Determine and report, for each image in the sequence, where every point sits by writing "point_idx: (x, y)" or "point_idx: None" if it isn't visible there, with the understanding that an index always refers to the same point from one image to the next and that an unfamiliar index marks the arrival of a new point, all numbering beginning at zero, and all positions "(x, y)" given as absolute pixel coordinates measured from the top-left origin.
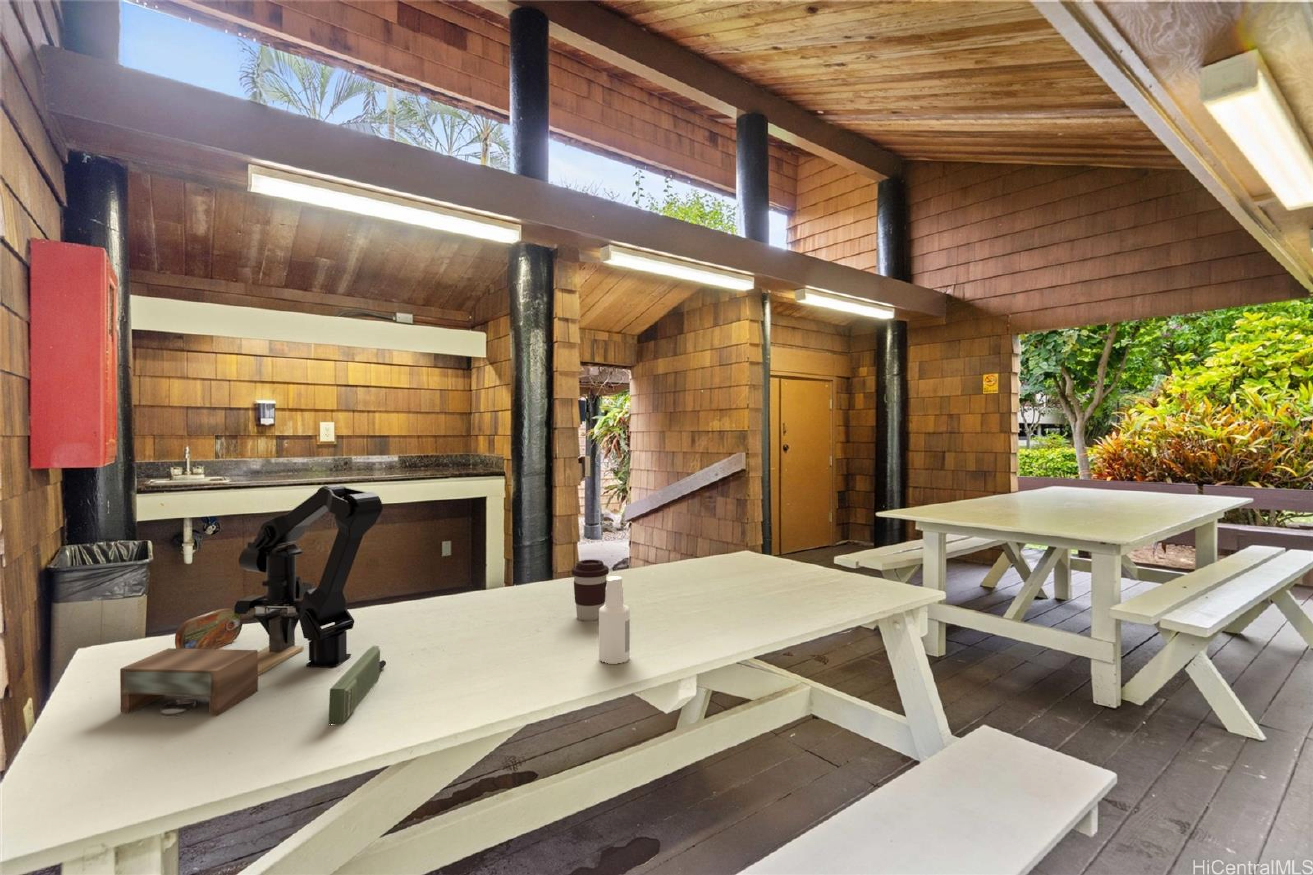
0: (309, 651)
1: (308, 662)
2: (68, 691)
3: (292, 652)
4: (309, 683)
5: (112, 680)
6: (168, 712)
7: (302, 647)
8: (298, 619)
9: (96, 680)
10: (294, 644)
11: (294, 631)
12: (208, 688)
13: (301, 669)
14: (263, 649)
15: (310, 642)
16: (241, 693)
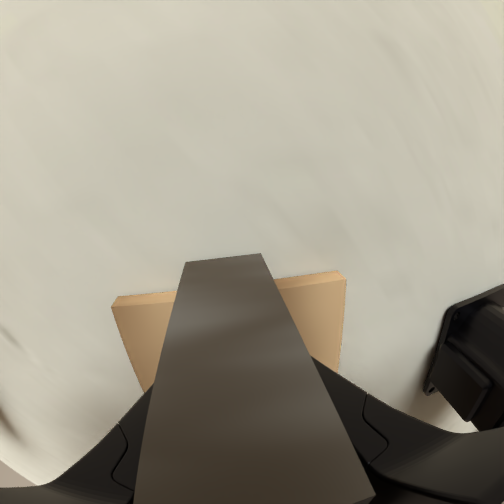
0: (448, 400)
1: (428, 385)
2: (30, 480)
3: (338, 362)
4: (444, 423)
5: (23, 464)
6: None
7: (343, 286)
8: (432, 437)
9: (6, 457)
10: (265, 264)
11: (288, 311)
12: None
13: (413, 402)
14: (139, 364)
15: (469, 419)
16: None
